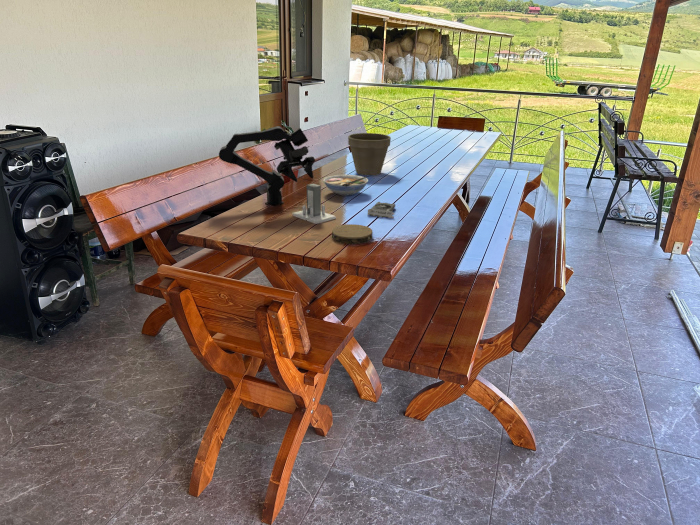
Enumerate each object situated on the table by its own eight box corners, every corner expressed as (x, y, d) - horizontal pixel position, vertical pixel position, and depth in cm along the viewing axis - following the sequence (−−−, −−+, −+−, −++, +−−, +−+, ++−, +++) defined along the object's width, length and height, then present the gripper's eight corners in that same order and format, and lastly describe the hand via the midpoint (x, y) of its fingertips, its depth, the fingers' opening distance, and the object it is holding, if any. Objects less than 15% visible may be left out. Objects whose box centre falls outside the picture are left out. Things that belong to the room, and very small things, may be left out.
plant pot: (387, 178, 298) (388, 140, 290) (344, 176, 302) (344, 138, 293) (391, 169, 321) (392, 133, 313) (351, 167, 324) (351, 132, 316)
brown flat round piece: (359, 229, 215) (360, 222, 214) (380, 241, 202) (380, 233, 201) (325, 234, 208) (325, 227, 207) (343, 247, 195) (343, 239, 194)
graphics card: (393, 212, 227) (367, 209, 230) (393, 220, 228) (366, 217, 231) (401, 202, 242) (376, 199, 245) (401, 210, 243) (376, 207, 246)
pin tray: (292, 215, 230) (292, 204, 228) (311, 210, 238) (311, 199, 236) (316, 223, 220) (316, 212, 218) (335, 218, 227) (335, 207, 225)
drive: (307, 214, 229) (306, 184, 224) (313, 212, 231) (312, 183, 226) (314, 216, 225) (314, 187, 220) (320, 214, 228) (320, 185, 223)
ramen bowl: (339, 186, 281) (339, 170, 278) (377, 191, 271) (377, 176, 267) (313, 196, 261) (312, 179, 258) (352, 202, 251) (352, 186, 248)
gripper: (279, 143, 226) (295, 172, 223) (312, 138, 238) (328, 166, 235) (269, 158, 234) (285, 187, 231) (302, 153, 246) (317, 180, 243)
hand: (304, 179), depth 235 cm, fingers open, 9 cm apart
